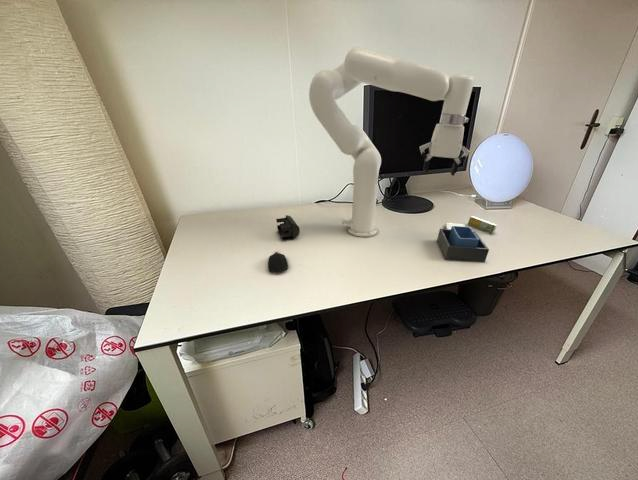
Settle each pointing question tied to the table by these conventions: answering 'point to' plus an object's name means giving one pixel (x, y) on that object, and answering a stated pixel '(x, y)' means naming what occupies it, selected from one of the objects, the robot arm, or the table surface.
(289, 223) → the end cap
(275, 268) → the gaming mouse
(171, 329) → the table surface
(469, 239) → the blue bin
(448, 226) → the hard drive
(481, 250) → the box
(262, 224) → the table surface
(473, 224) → the medication box
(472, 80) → the robot arm
